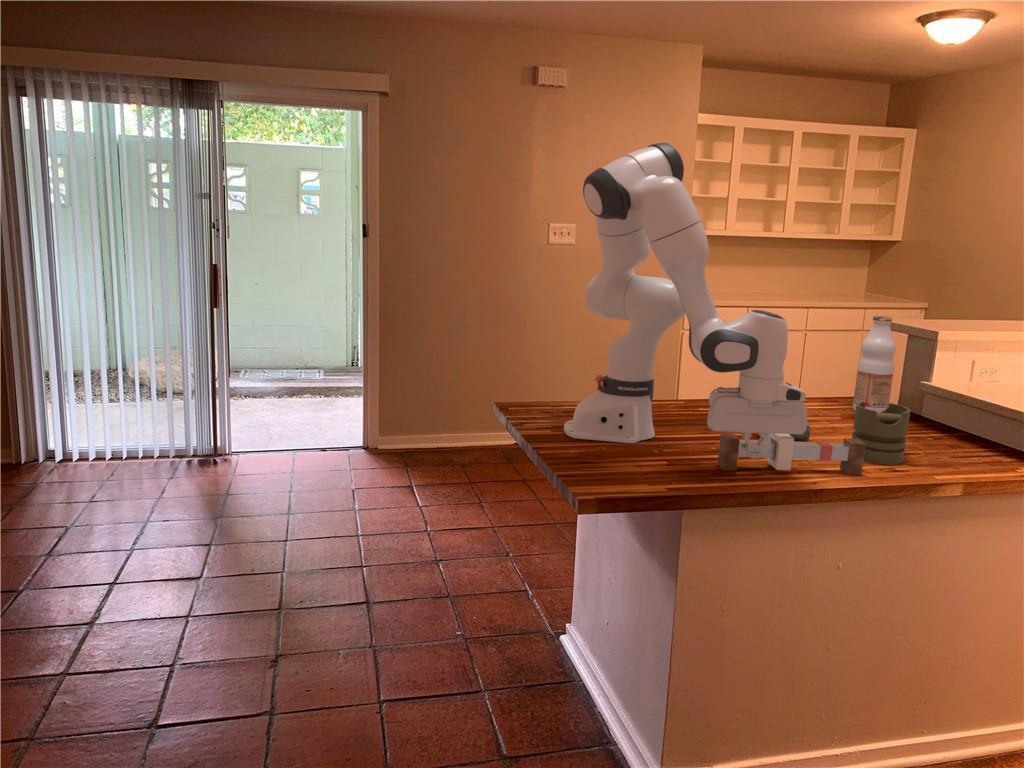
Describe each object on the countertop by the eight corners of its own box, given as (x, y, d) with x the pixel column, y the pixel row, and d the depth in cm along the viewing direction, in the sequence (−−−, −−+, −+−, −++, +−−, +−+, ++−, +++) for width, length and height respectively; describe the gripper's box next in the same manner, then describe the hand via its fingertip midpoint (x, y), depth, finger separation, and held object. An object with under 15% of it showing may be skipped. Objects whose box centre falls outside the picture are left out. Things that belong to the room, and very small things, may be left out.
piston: (850, 399, 184) (900, 402, 183) (844, 448, 187) (893, 451, 185) (864, 411, 173) (917, 414, 172) (857, 462, 176) (910, 466, 174)
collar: (776, 469, 165) (779, 438, 163) (765, 459, 172) (769, 429, 170) (790, 470, 165) (794, 438, 163) (779, 460, 172) (782, 429, 170)
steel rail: (728, 457, 166) (729, 442, 166) (723, 452, 169) (725, 438, 169) (857, 461, 166) (859, 447, 166) (851, 457, 170) (853, 442, 169)
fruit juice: (846, 411, 226) (859, 315, 220) (859, 406, 232) (872, 313, 226) (879, 417, 219) (893, 319, 213) (892, 413, 226) (906, 317, 220)
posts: (722, 470, 166) (725, 438, 165) (717, 464, 170) (720, 433, 169) (861, 475, 167) (865, 444, 165) (853, 469, 171) (857, 438, 169)
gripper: (714, 390, 158) (708, 454, 161) (814, 393, 158) (806, 458, 161) (706, 383, 164) (700, 446, 167) (802, 387, 165) (795, 449, 167)
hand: (753, 452), depth 164 cm, fingers closed
